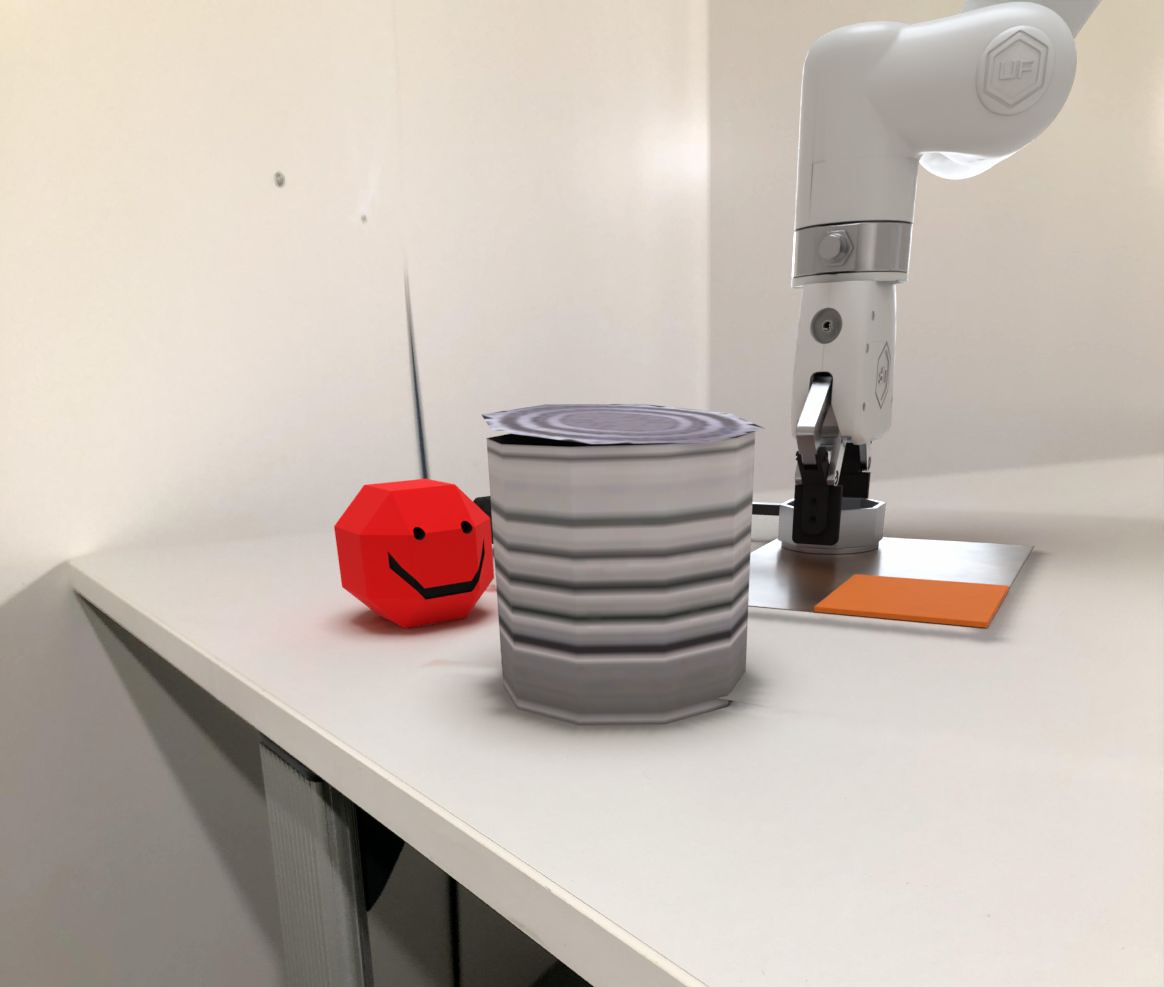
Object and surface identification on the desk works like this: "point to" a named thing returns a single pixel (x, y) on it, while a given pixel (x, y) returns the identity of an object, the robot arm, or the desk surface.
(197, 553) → the desk surface
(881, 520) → the pan
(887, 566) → the board
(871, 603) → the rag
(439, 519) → the ball
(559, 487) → the can
